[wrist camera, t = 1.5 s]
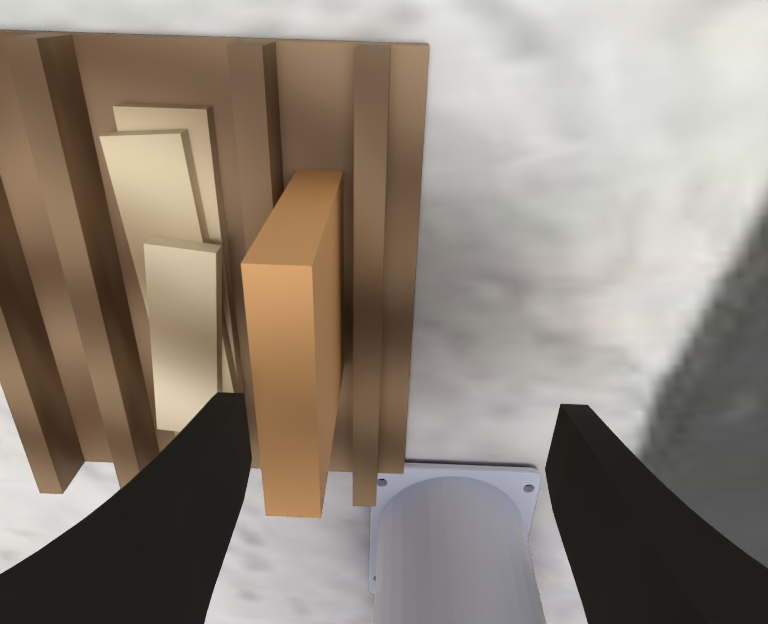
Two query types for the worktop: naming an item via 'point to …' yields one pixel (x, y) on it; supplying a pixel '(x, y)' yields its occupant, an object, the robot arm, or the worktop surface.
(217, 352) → the offcut stack
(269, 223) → the orange square slab
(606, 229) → the worktop surface
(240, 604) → the worktop surface
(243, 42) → the rack
